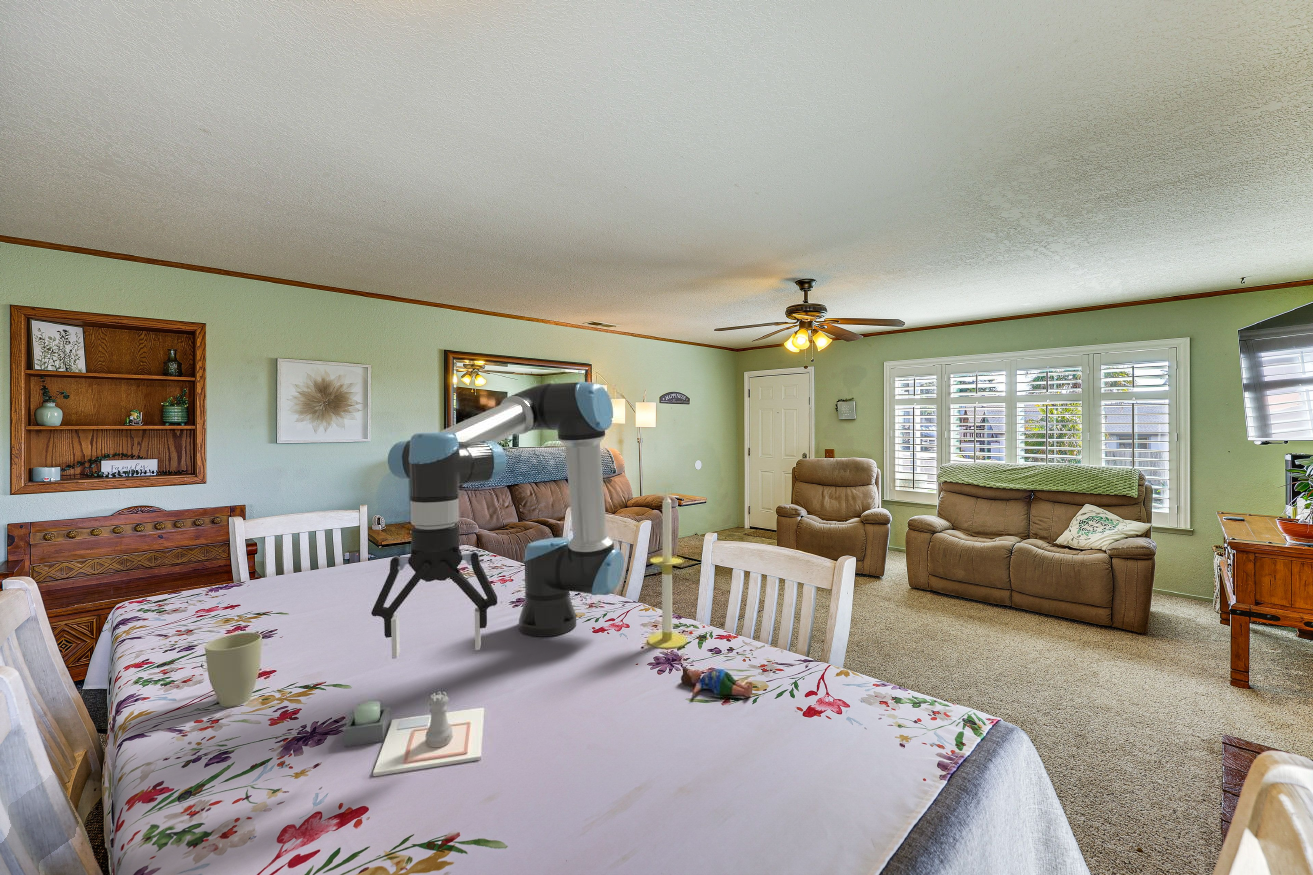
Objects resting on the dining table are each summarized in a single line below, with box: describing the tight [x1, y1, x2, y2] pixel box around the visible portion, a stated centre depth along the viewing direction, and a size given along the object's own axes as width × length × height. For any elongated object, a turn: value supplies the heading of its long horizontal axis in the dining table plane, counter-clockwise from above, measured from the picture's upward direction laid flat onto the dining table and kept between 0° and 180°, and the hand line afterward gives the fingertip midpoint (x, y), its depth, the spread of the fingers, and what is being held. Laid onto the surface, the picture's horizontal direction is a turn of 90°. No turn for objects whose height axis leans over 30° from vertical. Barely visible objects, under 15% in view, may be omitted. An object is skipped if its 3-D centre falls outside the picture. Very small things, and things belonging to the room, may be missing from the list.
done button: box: [353, 700, 381, 726], centre depth 99 cm, size 4×4×4 cm
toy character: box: [680, 667, 753, 698], centre depth 115 cm, size 12×5×15 cm
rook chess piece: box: [425, 691, 453, 748], centre depth 95 cm, size 4×4×8 cm
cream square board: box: [372, 707, 485, 777], centre depth 97 cm, size 16×16×1 cm
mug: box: [204, 631, 263, 708], centre depth 112 cm, size 11×10×12 cm
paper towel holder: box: [646, 492, 688, 650], centre depth 140 cm, size 10×10×38 cm
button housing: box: [343, 706, 391, 747], centre depth 99 cm, size 6×6×3 cm
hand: (437, 651), depth 95 cm, fingers open, 12 cm apart
